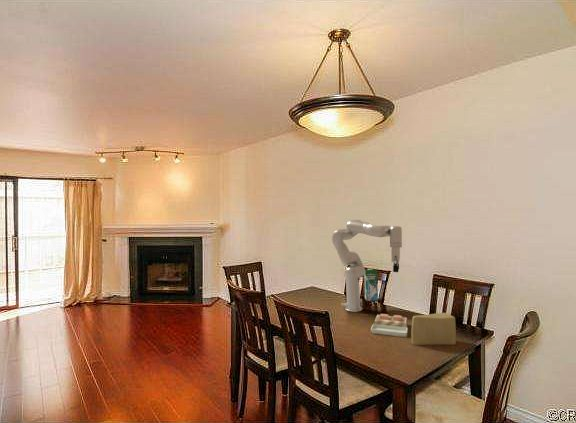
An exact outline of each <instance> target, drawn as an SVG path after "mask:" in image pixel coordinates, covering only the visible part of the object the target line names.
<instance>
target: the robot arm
mask: <svg viewBox="0 0 576 423" xmlns="http://www.w3.org/2000/svg"><path fill="white" fill-rule="evenodd" d="M402 230H403V228H402V226H400V225H393V226H392V225H374V224H370V223H369V222H367V221H362V220H361V219H351V220H348V221H347V223H346V228H339V229H336V230H334V232H333V233H332V236H331V241H332V244H333V246H334V248H335V250H336V253H337V255H338V257H339V259H340V262H341V264H342V265H343V266H348V267H346V269H345V270H344V277H345V278H344V279H345V287H346V302H341V304H340V305H341V306H342V307H344V310H345V311H347V312H351V313H352V312H354V313H357V312H362V311H363V307H362V306H361V298H360V297H361V294H360V293H361V292H360V282H359V278H362V277H363V278H364V274H365V270H366V269H365V266H364V264H363V262H362V260H361V257H360V255H359V254H358V253H357V252H355V251H350V249H349V247H348V245H347V244H346V242H344V241H347V240H351V239H353V238H354V237H355V236H357V235H358V234H364V235H367V236H370V237H376V238H386V237H387V238H388V237H389V247H390V248H391V250H390V251H391V254H390V255H391V263H393V266H392V272H393V273H398V272H399V270H400V263H399V262H400V259H401V248H403V241H402V240H403V237H402V236H403V235H402V233H403V232H402Z"/></svg>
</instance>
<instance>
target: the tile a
mask: <svg viewBox="0 0 576 423" xmlns="http://www.w3.org/2000/svg"><path fill="white" fill-rule="evenodd" d="M379 315H380V319H385V320H388V316H389V314H387V313H380V314H379Z"/></svg>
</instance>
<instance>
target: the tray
mask: <svg viewBox="0 0 576 423" xmlns="http://www.w3.org/2000/svg"><path fill="white" fill-rule="evenodd" d="M408 330H409V328H408V326H407V327H399V326H389V325H379V324H375V323H372V325H371V327H370V334H373V335H382V336H391V337H399V338H408V333H409V332H408Z"/></svg>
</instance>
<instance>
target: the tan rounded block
mask: <svg viewBox="0 0 576 423" xmlns="http://www.w3.org/2000/svg"><path fill="white" fill-rule="evenodd" d="M456 328H457V327H456V317H455V316H454V315H451V314H449V313H447V312H438V313H429V314H420V315H419V314H418V315H413V316H412V319H411V330H410V331H411V333H410V334H411V344H412V345H414V346H419V345H421V346H423V345H426V346H429V345H444V346H445V345H447V346H448V345H449V346H450V345H451V346H453V345H456V344H457V342H456V341H457V339H456V338H457V334H456V332H457V331H456Z"/></svg>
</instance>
